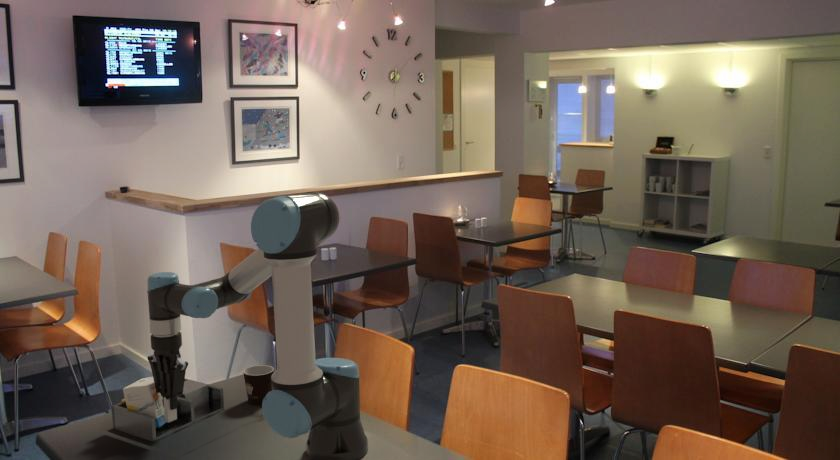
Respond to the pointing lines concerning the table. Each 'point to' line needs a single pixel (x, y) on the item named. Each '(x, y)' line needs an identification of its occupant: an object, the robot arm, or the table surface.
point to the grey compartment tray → (146, 428)
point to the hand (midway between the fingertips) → (171, 420)
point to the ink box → (145, 399)
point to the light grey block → (196, 395)
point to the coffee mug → (258, 383)
